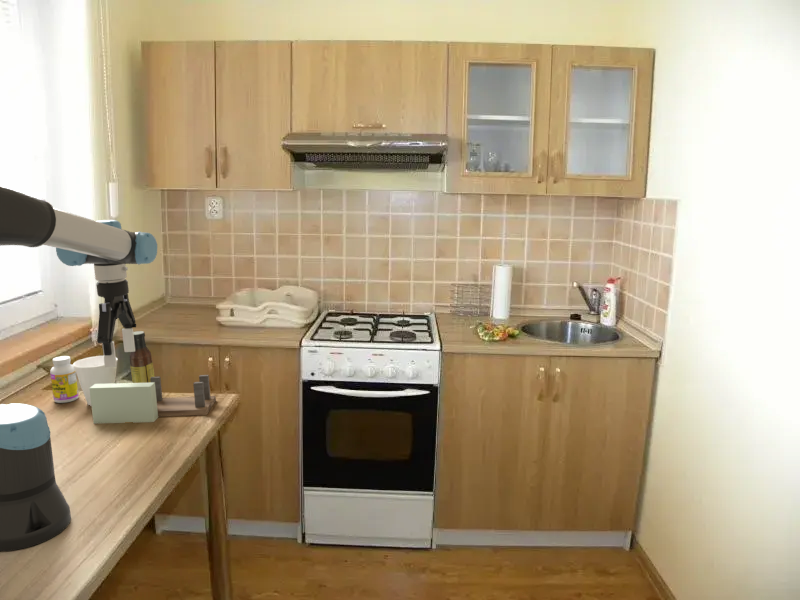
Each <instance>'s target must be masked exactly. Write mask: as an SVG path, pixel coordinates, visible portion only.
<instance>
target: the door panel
mask: <svg viewBox="0 0 800 600" xmlns="http://www.w3.org/2000/svg"><path fill="white" fill-rule="evenodd" d="M89 389H90V398H91V406H90V407H91V412H92V413H91V414H92V421H93V422H92V423H93V424H94V425H95V424H124V423H125V422H133V423H155V421H156V420H157V419H158V418H159V416H158V410H157V399H156V389H155V382H151V383H133V382H124V383H123V382H122V383H121V382H120V383H119V382H117V383H116V382H115V383H110V384H94V385H93V386H92V387H90V388H89Z"/></svg>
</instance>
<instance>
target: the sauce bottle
mask: <svg viewBox="0 0 800 600" xmlns="http://www.w3.org/2000/svg"><path fill="white" fill-rule="evenodd" d="M133 334H134V343H135V352H129V353H130V354H129V367H130V373H131V379H132V380H131V381H132V383H151V379H150V378H151V377H156V376H155V370H154V362H153V359H152V352H151V351H150V350H149V348H148V347H147V345H146V344H147V343H146V338H145V337H146V333H145V331H142V330H139V331H138V330H137V331H133Z"/></svg>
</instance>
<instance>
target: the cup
mask: <svg viewBox="0 0 800 600" xmlns="http://www.w3.org/2000/svg"><path fill="white" fill-rule="evenodd" d="M118 361H119V359H118V357H116V362H117V363H118ZM72 365H73V366H74V369H75V372H76V378H77V381H78V382H79V385H80V388H81V390H82V393H83V396H84V398H85V401H86V403H87V406H89V405H90V407H92V406H91V398H90V389H89V388H90V387H92V386H93V385H94V384H110V383H116V376H117V367H118V365H117V366H116V367H105V363H104V355H96V356H95V355H94V356H89V357H84V358H82V359H81V358H80V359H78V360H76V361H74V362H73V364H72Z"/></svg>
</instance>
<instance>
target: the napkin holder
mask: <svg viewBox="0 0 800 600" xmlns="http://www.w3.org/2000/svg"><path fill="white" fill-rule="evenodd" d="M150 379H151V382H155V389H156V399H157V410H158V417H179V416H180V417H181V416H205V415H206V416H207V415H208V413H209V412H210V411H211V409H212V407H213V406H214V404H215V403H216V402H217V399H216V398H217V397H216V395H211V387H210V386H211V385H210V376H209V374H200V375H199V376H198V381H195V382H193V385H192V386H193V395H194V396H175V397H173V396H172V397H169V396H168V397H163V389H162V380H161V376H155V377H151V378H150Z"/></svg>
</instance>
